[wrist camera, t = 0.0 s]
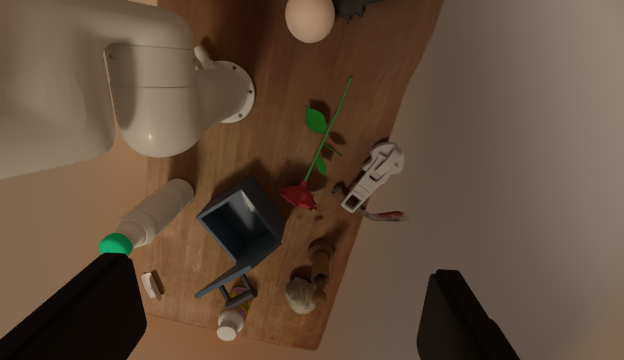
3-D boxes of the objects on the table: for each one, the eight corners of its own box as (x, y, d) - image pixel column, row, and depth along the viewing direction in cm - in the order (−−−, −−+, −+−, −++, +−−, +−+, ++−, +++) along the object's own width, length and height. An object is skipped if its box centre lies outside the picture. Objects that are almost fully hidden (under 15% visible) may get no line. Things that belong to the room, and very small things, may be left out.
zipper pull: (332, 194, 70) (332, 201, 65) (383, 133, 65) (387, 137, 61) (358, 213, 71) (360, 221, 67) (410, 155, 66) (416, 160, 62)
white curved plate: (148, 279, 78) (136, 283, 78) (159, 303, 81) (147, 306, 81) (152, 271, 82) (140, 274, 81) (162, 294, 85) (151, 297, 84)
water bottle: (186, 209, 74) (122, 276, 51) (161, 193, 73) (83, 254, 49) (200, 188, 72) (139, 248, 48) (174, 172, 70) (98, 225, 47)
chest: (210, 200, 73) (195, 217, 64) (251, 174, 70) (241, 189, 61) (246, 243, 77) (237, 265, 68) (286, 221, 74) (281, 241, 66)
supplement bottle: (257, 295, 83) (246, 334, 71) (242, 308, 85) (229, 348, 73) (239, 281, 81) (224, 319, 69) (224, 294, 83) (207, 333, 71)
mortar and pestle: (338, 252, 76) (342, 305, 60) (319, 265, 78) (317, 320, 61) (322, 235, 75) (320, 284, 58) (302, 248, 76) (296, 300, 60)
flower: (388, 87, 55) (320, 228, 60) (373, 92, 66) (317, 210, 71) (326, 56, 53) (262, 204, 58) (322, 68, 65) (268, 190, 70)
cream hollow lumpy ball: (289, 271, 82) (276, 287, 73) (319, 270, 80) (308, 286, 70) (295, 304, 83) (281, 324, 73) (324, 304, 80) (314, 324, 71)
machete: (415, 219, 71) (404, 236, 72) (410, 214, 73) (400, 230, 75) (338, 184, 66) (328, 203, 68) (336, 180, 69) (326, 198, 70)
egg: (327, 49, 59) (327, 46, 48) (285, 38, 58) (275, 32, 48) (339, 0, 56) (342, -14, 45) (294, -12, 55) (287, -30, 45)
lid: (194, 294, 53) (209, 323, 53) (249, 265, 50) (266, 295, 50) (235, 264, 68) (247, 287, 68) (280, 240, 65) (293, 263, 65)
